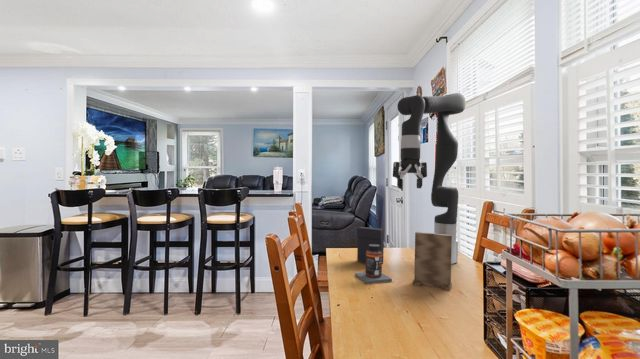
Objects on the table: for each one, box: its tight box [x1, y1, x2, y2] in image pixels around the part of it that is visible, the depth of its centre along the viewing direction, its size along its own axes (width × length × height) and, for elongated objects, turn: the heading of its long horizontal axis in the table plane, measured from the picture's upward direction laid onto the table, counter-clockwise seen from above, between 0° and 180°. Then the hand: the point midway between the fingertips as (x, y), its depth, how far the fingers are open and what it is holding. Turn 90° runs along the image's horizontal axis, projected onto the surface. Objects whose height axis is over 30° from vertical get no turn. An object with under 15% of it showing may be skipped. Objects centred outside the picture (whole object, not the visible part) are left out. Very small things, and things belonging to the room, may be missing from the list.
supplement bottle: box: [364, 244, 383, 278], centre depth 125 cm, size 6×6×11 cm
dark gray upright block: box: [356, 226, 385, 265], centre depth 146 cm, size 11×4×15 cm, turn 58°
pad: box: [354, 271, 393, 285], centre depth 125 cm, size 10×10×1 cm
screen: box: [412, 231, 453, 291], centre depth 118 cm, size 12×5×18 cm, turn 63°
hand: (409, 188), depth 134 cm, fingers open, 8 cm apart
